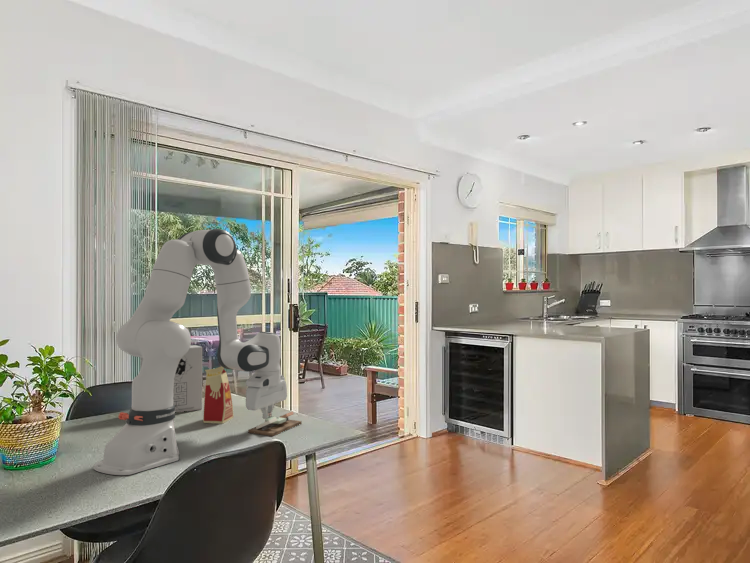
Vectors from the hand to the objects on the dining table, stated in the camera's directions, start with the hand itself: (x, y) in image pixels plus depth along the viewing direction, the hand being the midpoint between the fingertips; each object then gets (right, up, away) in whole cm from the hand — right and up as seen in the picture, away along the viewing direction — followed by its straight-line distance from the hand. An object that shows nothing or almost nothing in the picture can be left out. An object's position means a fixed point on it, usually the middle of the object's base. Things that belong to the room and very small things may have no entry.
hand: (267, 417), depth 181 cm
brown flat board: (+3, -3, -2) cm, 5 cm away
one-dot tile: (+1, -1, -6) cm, 7 cm away
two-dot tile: (+3, -1, -2) cm, 4 cm away
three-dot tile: (+5, -1, +3) cm, 6 cm away
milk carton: (-20, -3, +9) cm, 22 cm away
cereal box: (-42, -4, +23) cm, 48 cm away
